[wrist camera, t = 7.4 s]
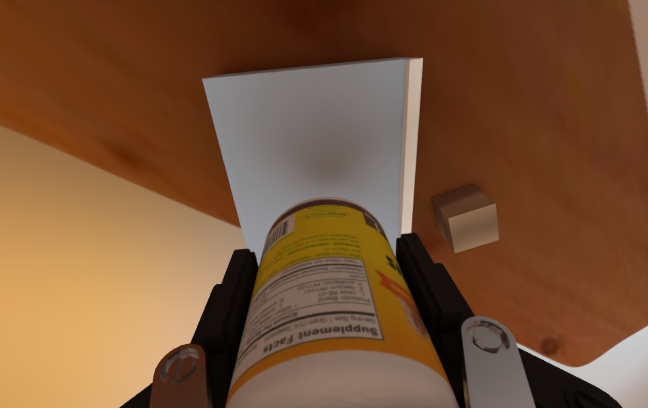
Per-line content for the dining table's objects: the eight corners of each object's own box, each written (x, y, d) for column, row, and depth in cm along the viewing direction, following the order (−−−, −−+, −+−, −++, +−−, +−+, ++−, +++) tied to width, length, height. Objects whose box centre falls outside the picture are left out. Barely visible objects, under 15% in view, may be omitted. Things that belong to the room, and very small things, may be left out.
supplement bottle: (383, 283, 15) (498, 645, 6) (275, 292, 15) (221, 671, 6) (386, 184, 12) (608, 565, 3) (256, 195, 12) (100, 610, 3)
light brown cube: (430, 197, 28) (448, 218, 25) (471, 183, 28) (495, 203, 24) (437, 229, 30) (454, 253, 26) (476, 217, 29) (499, 239, 26)
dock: (219, 74, 22) (196, 80, 18) (400, 56, 22) (423, 58, 18) (262, 258, 31) (254, 293, 26) (393, 246, 30) (407, 279, 26)
